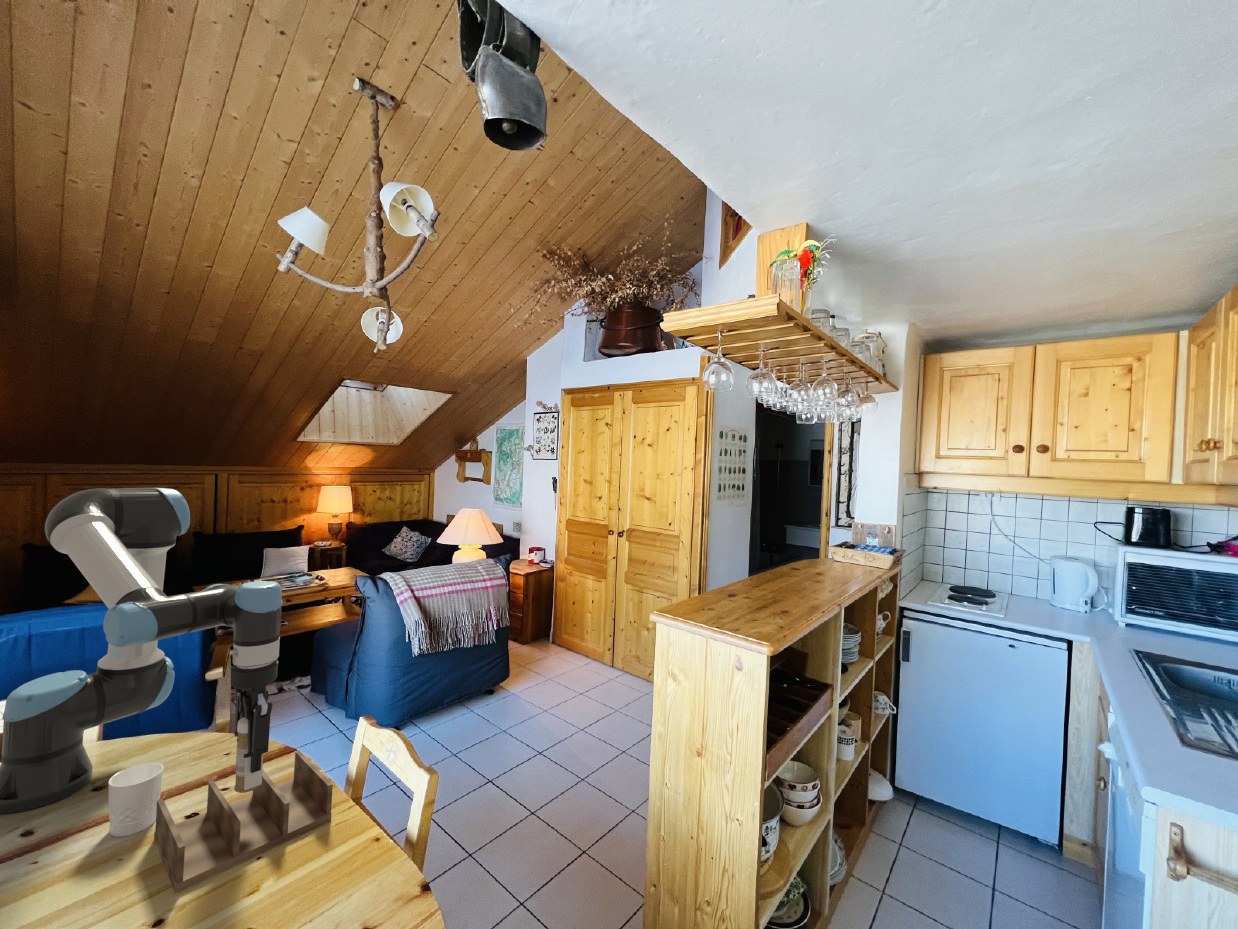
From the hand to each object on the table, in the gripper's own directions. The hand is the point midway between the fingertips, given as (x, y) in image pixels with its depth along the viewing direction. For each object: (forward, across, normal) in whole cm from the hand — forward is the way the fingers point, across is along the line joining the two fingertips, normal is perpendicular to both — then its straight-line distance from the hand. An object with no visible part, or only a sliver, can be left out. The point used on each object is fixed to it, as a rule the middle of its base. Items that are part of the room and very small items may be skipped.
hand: (248, 780), depth 101 cm
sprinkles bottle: (+1, 0, 0) cm, 1 cm away
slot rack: (+10, 0, 0) cm, 10 cm away
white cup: (+10, -17, -14) cm, 24 cm away
